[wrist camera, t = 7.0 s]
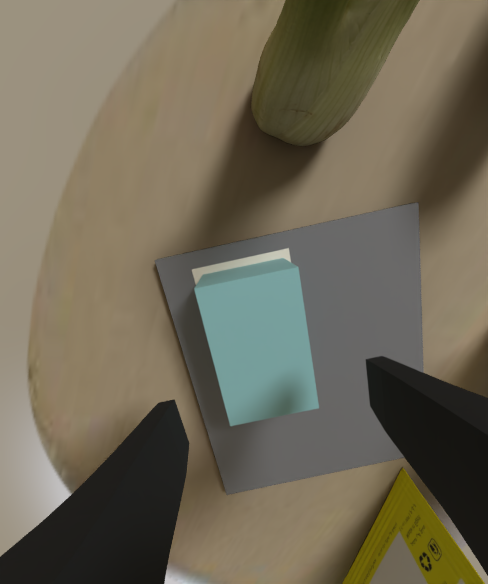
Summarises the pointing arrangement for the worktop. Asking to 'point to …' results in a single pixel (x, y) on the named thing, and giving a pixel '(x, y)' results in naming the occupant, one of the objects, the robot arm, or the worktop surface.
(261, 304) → the card box
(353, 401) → the mat
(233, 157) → the worktop surface
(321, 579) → the worktop surface
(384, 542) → the food package
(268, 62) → the fennel bulb
